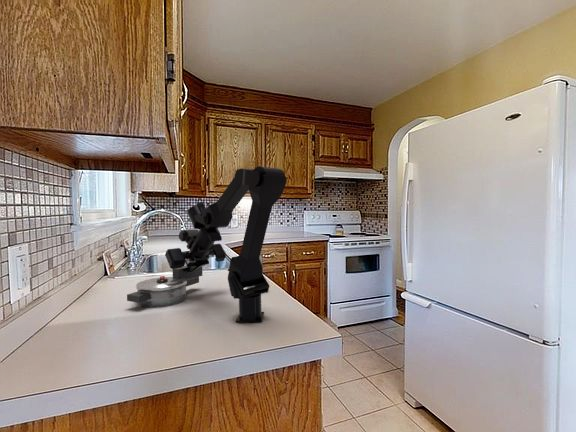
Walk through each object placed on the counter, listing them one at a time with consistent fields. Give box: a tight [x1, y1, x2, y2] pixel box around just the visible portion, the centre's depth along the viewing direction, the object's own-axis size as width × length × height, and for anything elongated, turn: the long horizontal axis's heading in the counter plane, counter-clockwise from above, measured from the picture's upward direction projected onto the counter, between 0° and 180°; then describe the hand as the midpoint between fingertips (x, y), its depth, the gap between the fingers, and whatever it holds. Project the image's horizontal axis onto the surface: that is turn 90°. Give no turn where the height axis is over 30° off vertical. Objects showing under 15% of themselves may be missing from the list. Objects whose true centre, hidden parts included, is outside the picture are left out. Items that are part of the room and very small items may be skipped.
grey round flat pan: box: [126, 276, 200, 309], centre depth 97 cm, size 25×14×4 cm, turn 155°
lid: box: [135, 265, 203, 291], centre depth 98 cm, size 22×15×4 cm, turn 148°
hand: (189, 271), depth 102 cm, fingers closed
